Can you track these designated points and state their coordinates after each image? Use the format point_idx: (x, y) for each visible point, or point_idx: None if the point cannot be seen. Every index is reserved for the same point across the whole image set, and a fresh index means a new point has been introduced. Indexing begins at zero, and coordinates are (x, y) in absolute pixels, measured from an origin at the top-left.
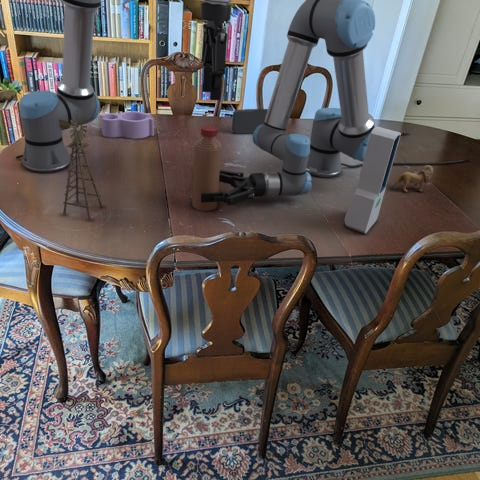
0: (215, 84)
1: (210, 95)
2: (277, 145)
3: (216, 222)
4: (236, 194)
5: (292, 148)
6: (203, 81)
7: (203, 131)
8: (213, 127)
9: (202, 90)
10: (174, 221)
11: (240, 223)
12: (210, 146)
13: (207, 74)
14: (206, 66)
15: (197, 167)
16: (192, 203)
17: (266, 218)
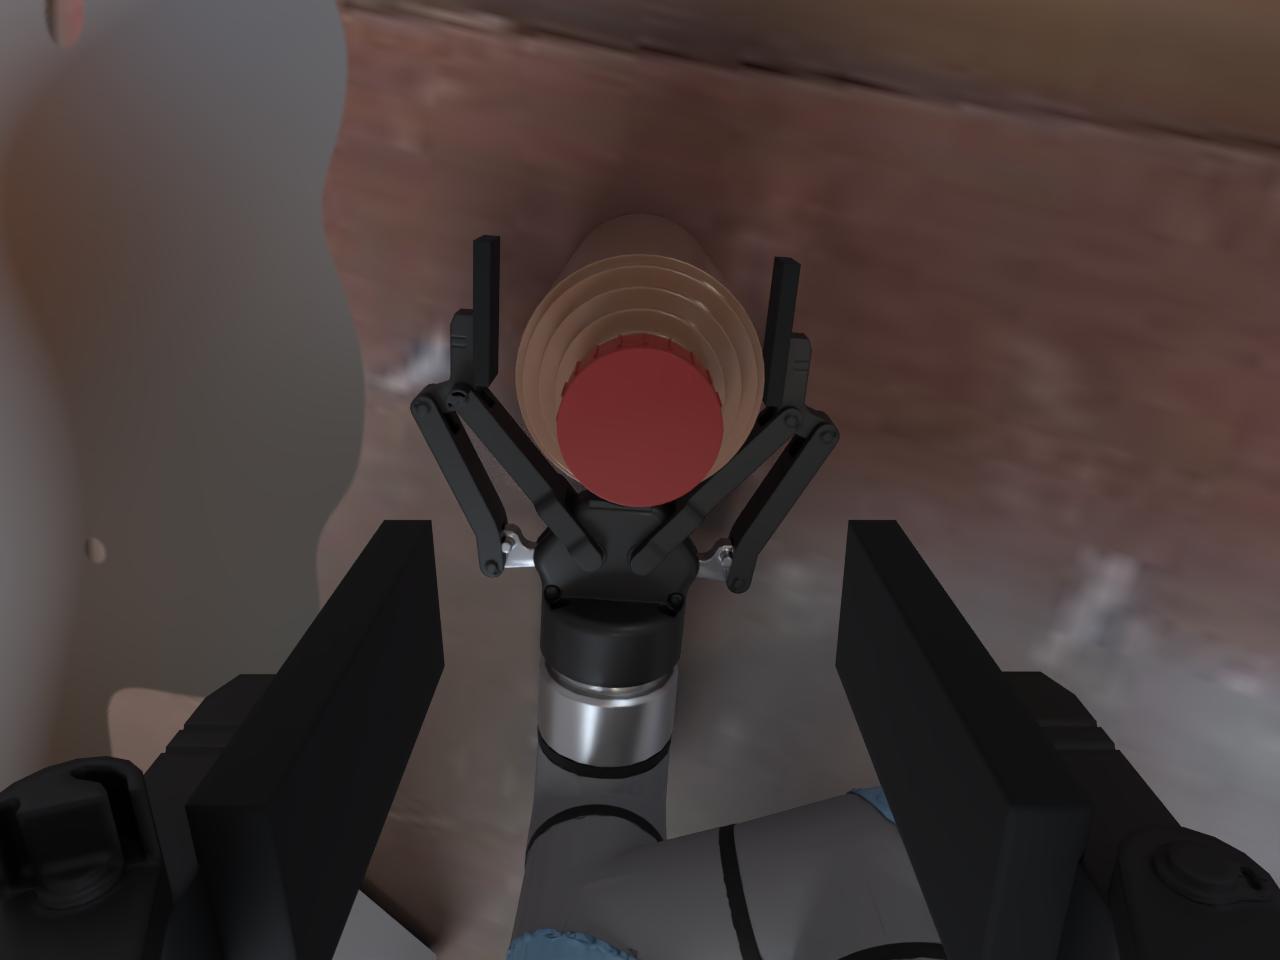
0: (185, 734)
1: (372, 552)
2: (683, 893)
3: (433, 301)
4: (457, 460)
5: (532, 958)
6: (898, 608)
7: (601, 354)
8: (655, 480)
9: (890, 527)
10: (469, 53)
11: (410, 425)
12: (538, 381)
13: (934, 772)
14: (1088, 898)
15: (585, 251)
16: (637, 214)
17: (446, 568)
